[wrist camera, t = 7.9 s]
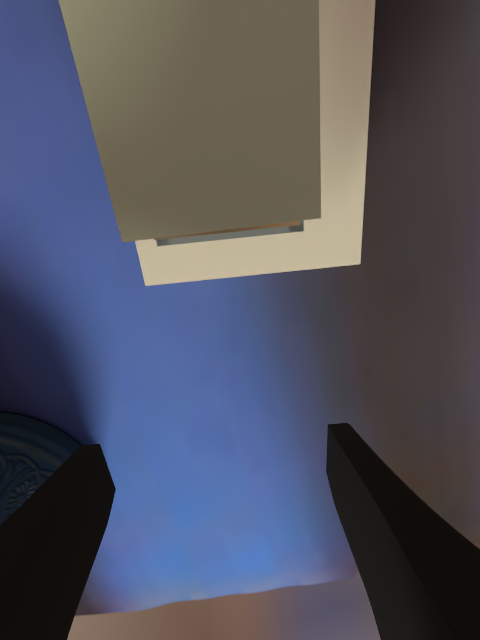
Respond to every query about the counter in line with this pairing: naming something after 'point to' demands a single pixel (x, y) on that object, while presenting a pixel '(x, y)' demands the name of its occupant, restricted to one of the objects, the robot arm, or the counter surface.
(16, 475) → the canister
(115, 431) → the counter surface
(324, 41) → the cream square tray
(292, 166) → the sage block
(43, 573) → the robot arm
